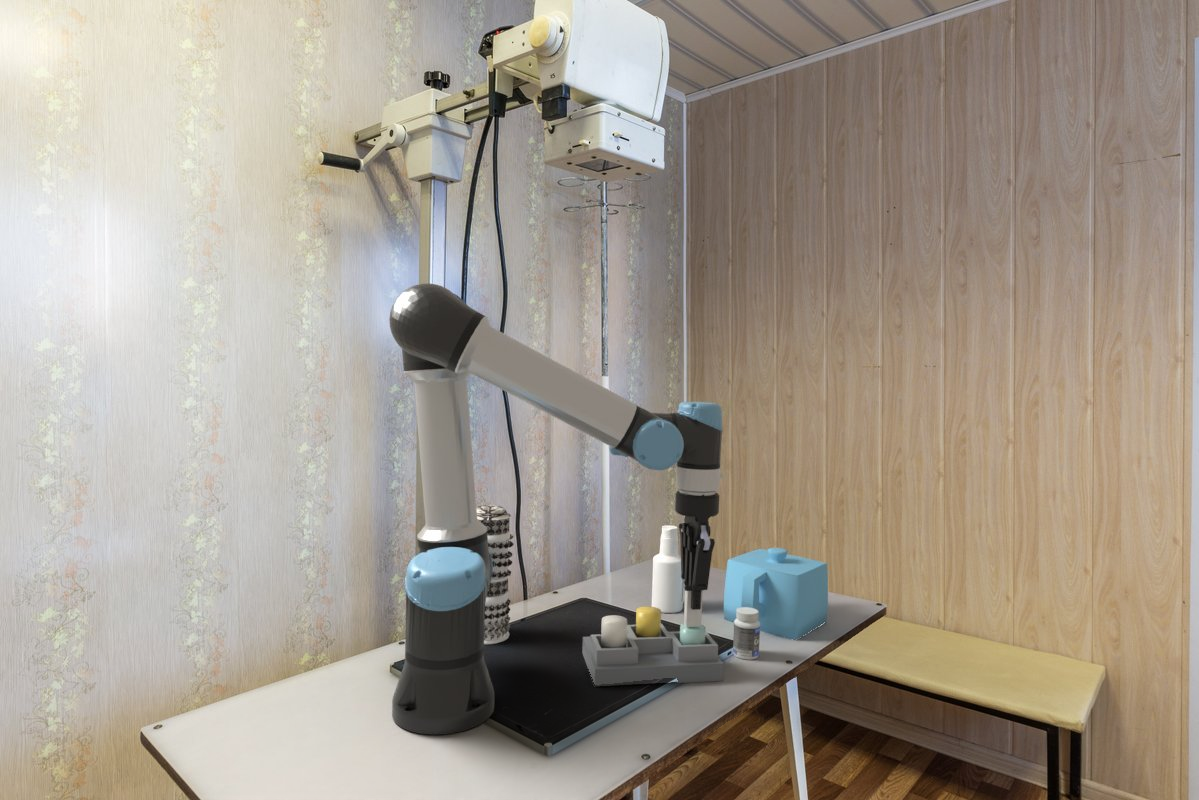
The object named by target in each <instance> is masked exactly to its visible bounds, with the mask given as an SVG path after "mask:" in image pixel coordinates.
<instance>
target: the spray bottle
mask: <svg viewBox="0 0 1199 800" xmlns="http://www.w3.org/2000/svg"><path fill="white" fill-rule="evenodd" d="M678 529H679V526H676V525H671V524H670V525H669V524H668V525H662V526H661V534H660V539H659V540H660V546H659V553H657V554H655V555H654V556H653V558H652V582H651V583H652V584H651V587H652V588H651V589H652V590H651V607H656V608H659V609H660V610H661V614H662V613H664V614H675V613H679V612H681V611H682V610H683V609H684V605H683V604H684V601H683V600H684V585H685V584H684V579H682V578H681V554H679V537H678Z"/></svg>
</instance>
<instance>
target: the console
mask: <svg viewBox="0 0 1199 800" xmlns="http://www.w3.org/2000/svg"><path fill="white" fill-rule="evenodd" d="M581 648H582V651H581V652H582V656H583V659H584V662H585V665H586V667H587V670H588V669H589V670H588V672H590V673H589V675H590V674H591V675H590V678H591V677H592V678H591V680H592V679H593V681H592V683H593V682H594V684H595V685H601V684H614V683H623V682H633V681H642V680H653V679H662V678H677V680H678V682H677V683H676V684H681V683H682V684H683V683H685V684H686V683H705V682H706V683H707V682H723V681H724V664H725V663H724V661H722V659H720V657H719V645H718V643H717V642H716V641H715V640H714V638H712V637H711V635H710V634H709V633H708V631H707V630H705V644H698V645H681V643H680V630H679V631H668V630H667V628H666V627H665V626H664V625H663V623H661V631H660V635H659V636H656V637H643V636H640V635H638V634H636V624H627V644H626V645H625V646H623V647H620V648H610V647H606V646H604V645H602V644H601V634H600V633H599V634H598V633H597V634H590V636H582V647H581ZM594 684H593V685H594Z"/></svg>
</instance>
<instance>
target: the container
mask: <svg viewBox="0 0 1199 800" xmlns="http://www.w3.org/2000/svg"><path fill="white" fill-rule="evenodd" d="M788 551H789V550H787V549H785V548H781V547H770V548H768V549H763V548H758V549H756V550H751V551H749V552H746V553H743V554H740V555H739V554H738V555H737V556H734V557H732V558H729V559H728V560H727V564H726V571H725V572H726V574H725V579H724V581H725V582H724V583H725V584H724V592H723V593H724V594H723V618H724V620H726V621H728V622H730V623H731V622H732V623H734V621H735V619H737V617H736V613H737V609H738V608H741V607H749V608H754V609H756V610H758V612H759V618H758V621H759V623H760V632H764V633H767V634H771V635H774V636H777V637H781V638H784V637H785V638H784V639H787V638H788V639H787V640H791V639H793V640H792V641H797V640H796V639H798V638H800V637H802V636H803V635H805V634H807V633H808V632H810V631H811V630H813V629H815V628H816V627H818V626H820V625H821V624H823V623H824V622H826V623H827V617H828V610H829V605H828V603H829V600H828V599H829V581H828V579H829V578H828V577H829V575H828V571H829V570H828V564H827V562H823V561H820V560H815V559H811V558H807V557H802V556H798V555H793V554H788ZM807 635H808V634H807ZM805 636H806V635H805ZM803 637H804V636H803ZM803 637H802V638H803ZM800 639H801V638H800ZM798 640H799V639H798Z"/></svg>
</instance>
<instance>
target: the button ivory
mask: <svg viewBox="0 0 1199 800" xmlns="http://www.w3.org/2000/svg"><path fill="white" fill-rule="evenodd" d="M627 625H628V619H627V618H626V617H625V616H621V615H617V614H616V615H615V614H613V615H604V616H603V617H602V618H601V629H600V633H601V644H602V645H604V646H606V647H610V648H620V647H623V646H625V645H626V644H627Z"/></svg>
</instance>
